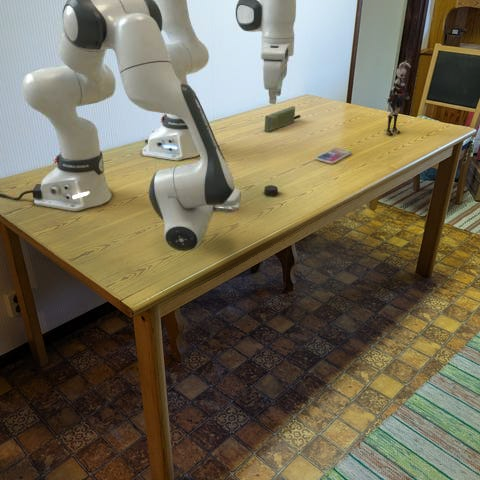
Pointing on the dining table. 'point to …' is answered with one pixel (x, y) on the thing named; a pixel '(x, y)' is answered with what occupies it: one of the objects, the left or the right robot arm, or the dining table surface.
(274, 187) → the cap
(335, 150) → the smartphone
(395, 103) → the figurine
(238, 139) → the dining table surface
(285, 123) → the handheld radio
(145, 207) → the dining table surface
